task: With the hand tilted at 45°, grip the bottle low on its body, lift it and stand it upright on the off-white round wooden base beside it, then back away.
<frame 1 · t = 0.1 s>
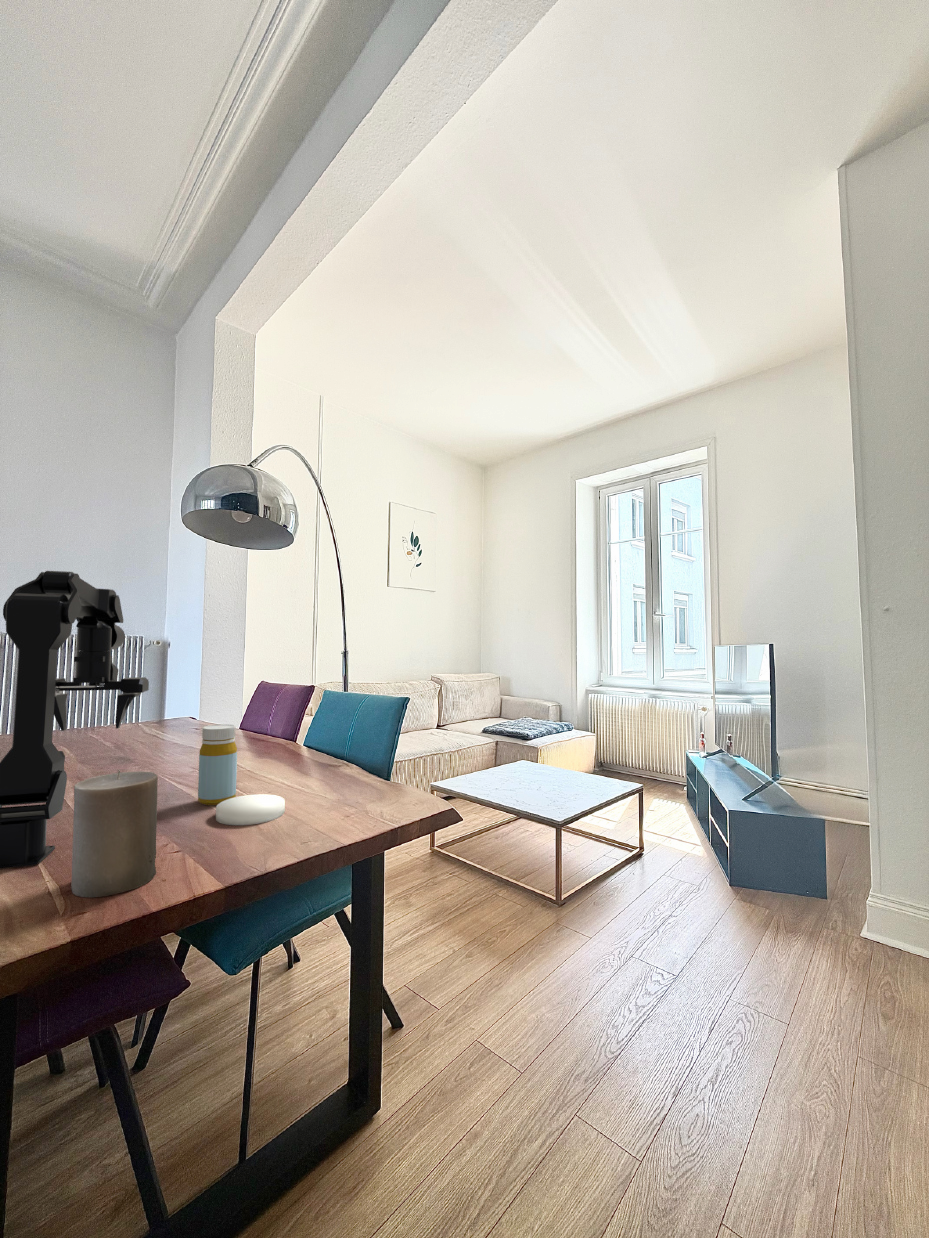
hand: (91, 729, 105), 15 cm above the table, tool pointing down, fingers open, 9 cm apart
round base: (250, 814, 99), on the table
bottle: (217, 801, 107), on the table
pillar candle: (113, 882, 71), on the table
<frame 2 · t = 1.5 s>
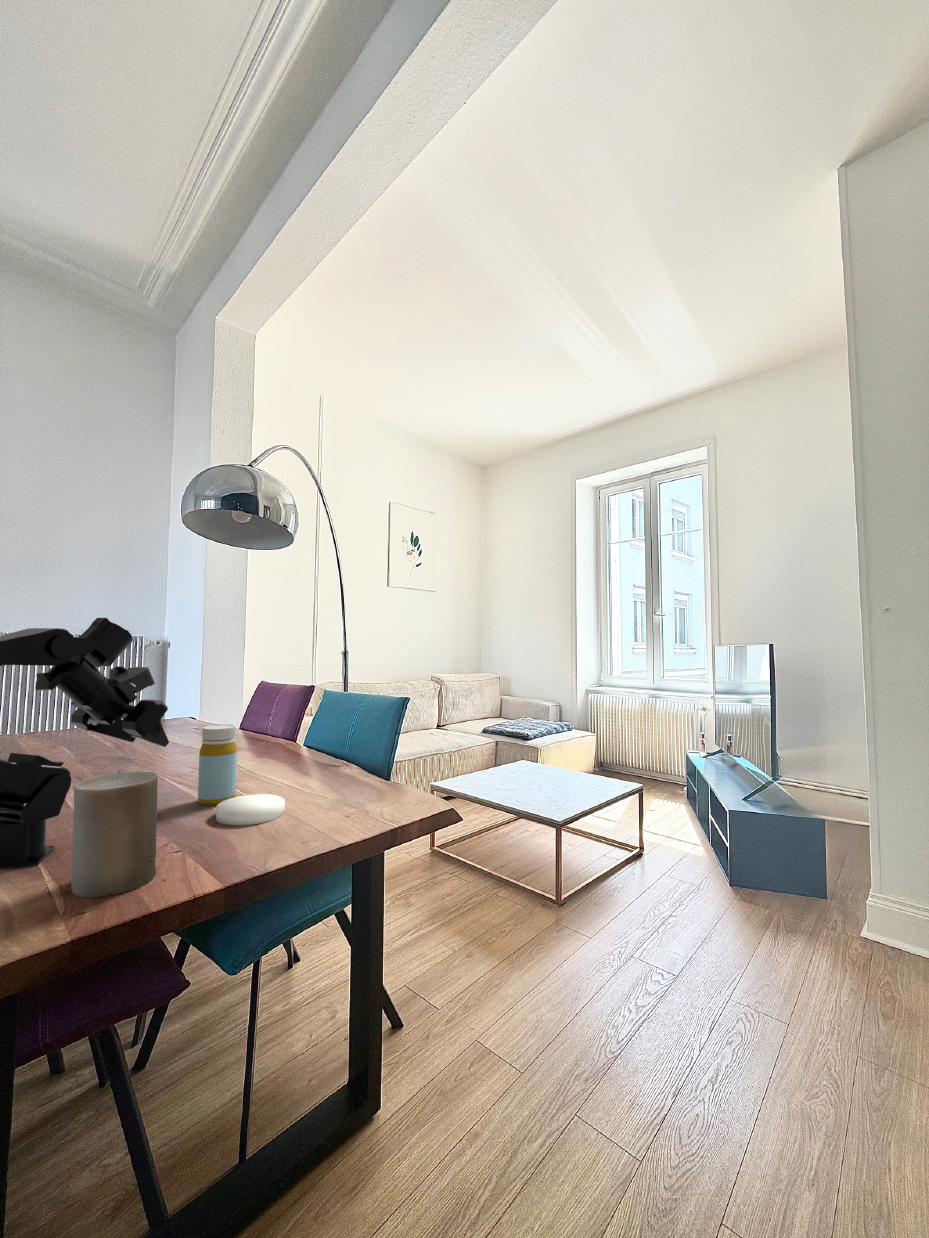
hand: (150, 742, 97), 14 cm above the table, tool tilted 45°, fingers open, 9 cm apart
nothing on the table moved.
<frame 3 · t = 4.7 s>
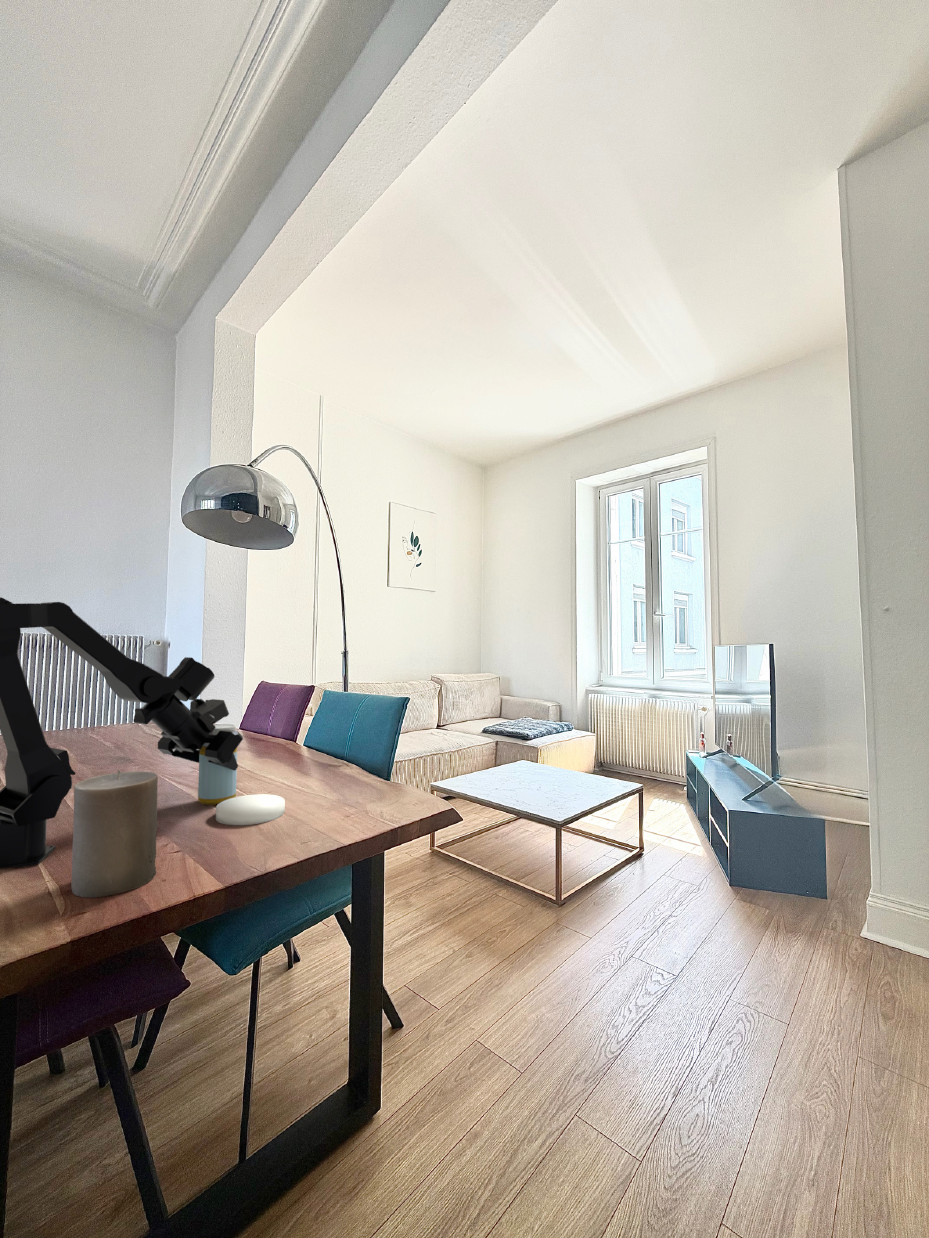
hand: (224, 766, 109), 7 cm above the table, tool tilted 45°, fingers closed on bottle, 7 cm apart
bottle: (217, 801, 107), on the table, touching gripper
everything else where it was.
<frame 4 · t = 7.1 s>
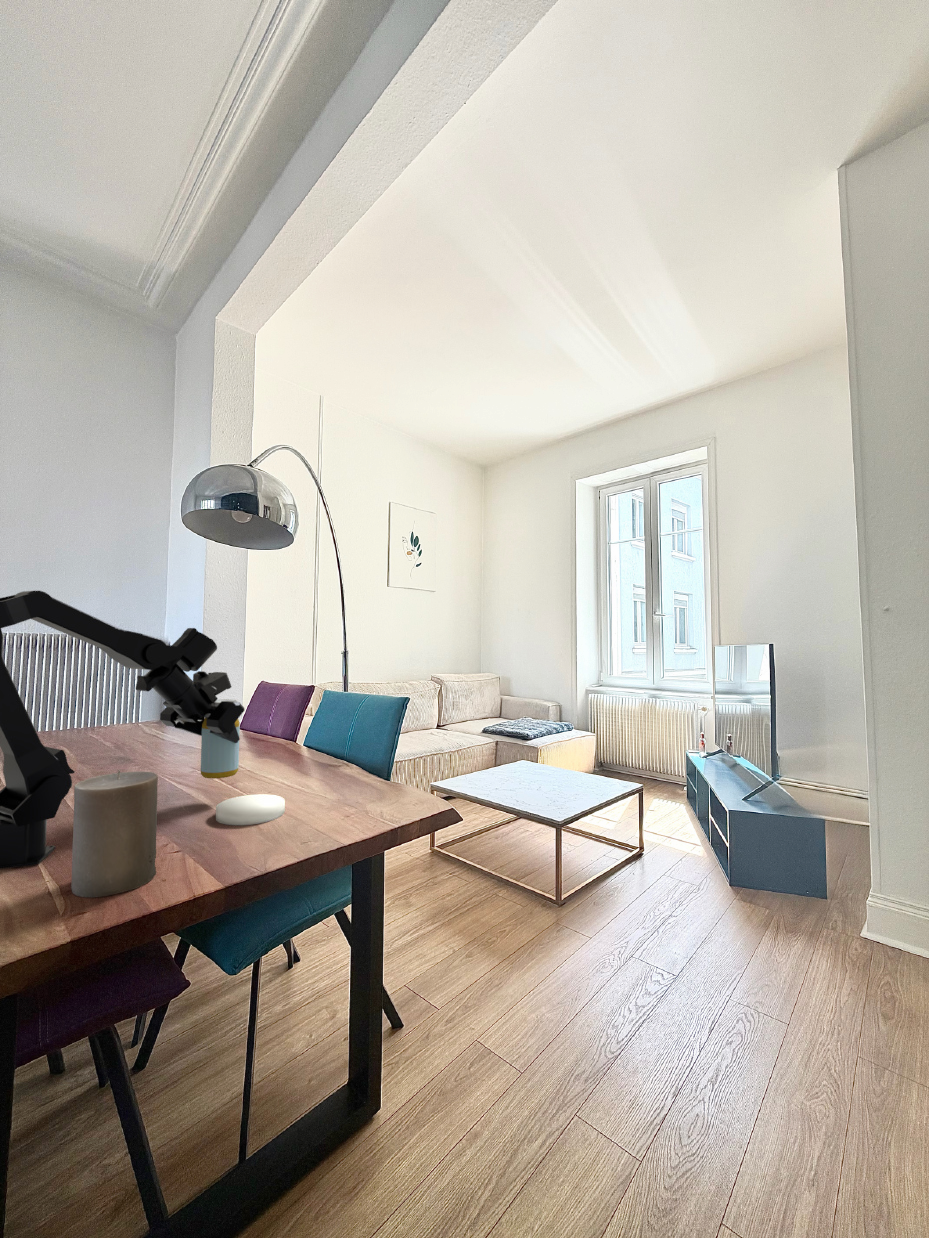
hand: (226, 739, 109), 12 cm above the table, tool tilted 45°, fingers closed on bottle, 7 cm apart
bottle: (219, 775, 107), point 5 cm above the table, touching gripper
everything else where it was.
when the fingers open (10 cm above the table, at t = 9.5 s): bottle stays where it is, resting on round base.
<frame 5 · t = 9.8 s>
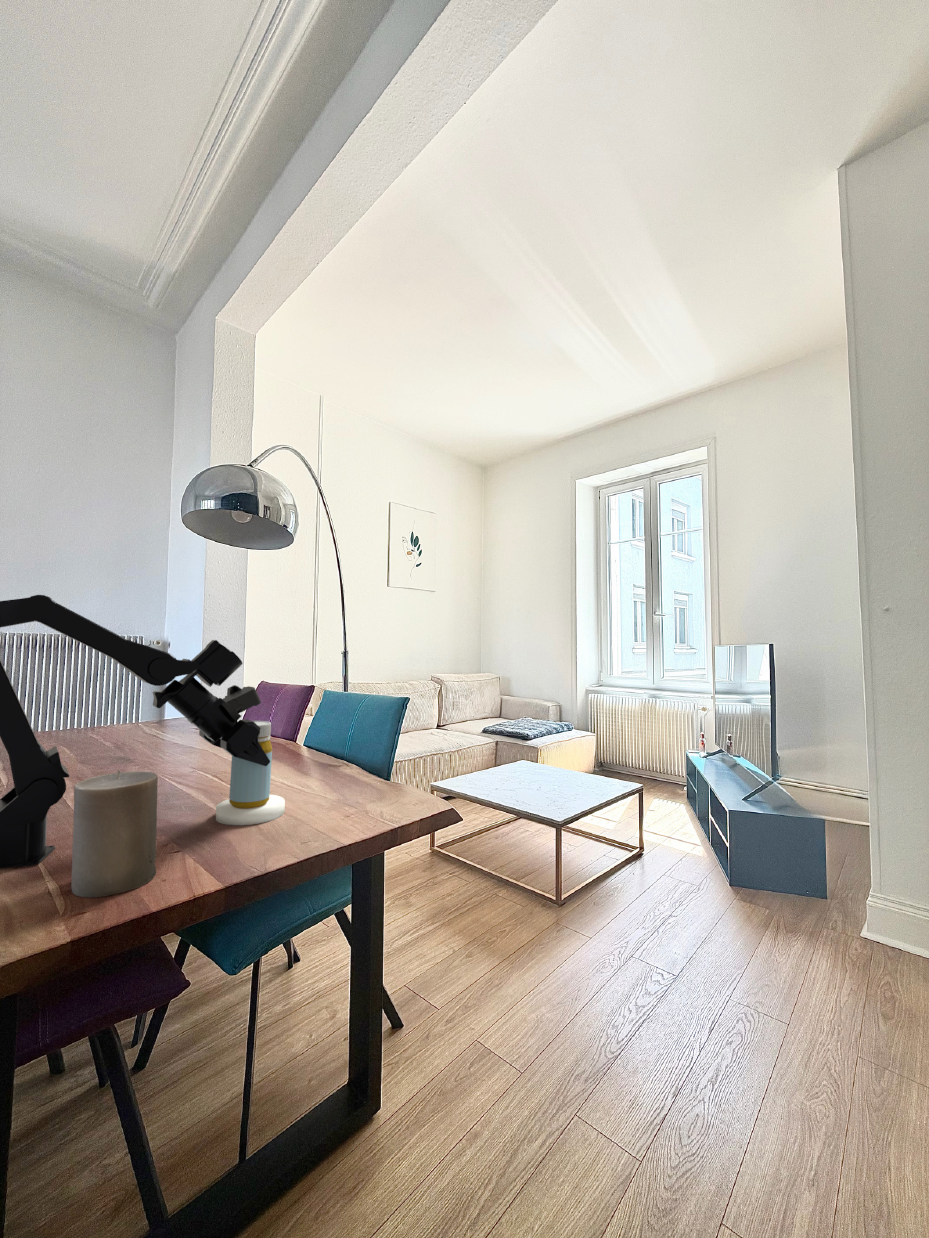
hand: (259, 759, 101), 10 cm above the table, tool tilted 45°, fingers open, 9 cm apart
bottle: (249, 804, 99), point 2 cm above the table, touching gripper, round base
everything else where it was.
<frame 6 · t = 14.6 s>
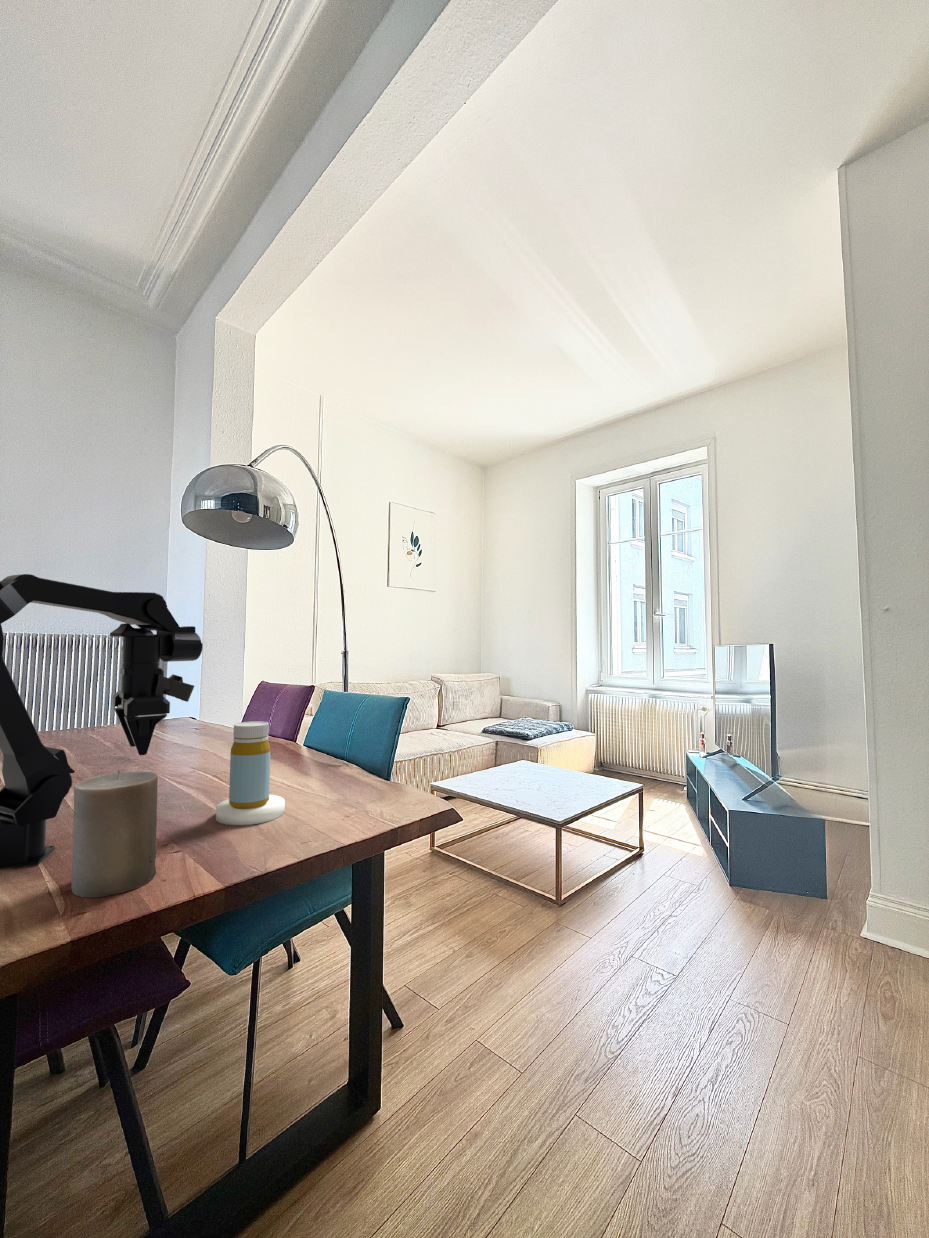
hand: (138, 750, 94), 13 cm above the table, tool pointing down, fingers open, 9 cm apart
bottle: (249, 805, 99), point 2 cm above the table, touching round base
everything else where it was.
at the end: bottle 0.4 cm off-centre on the round base, point 1.8 cm above the round base's base; bottle tilted 0°; the gripper is holding nothing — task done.
